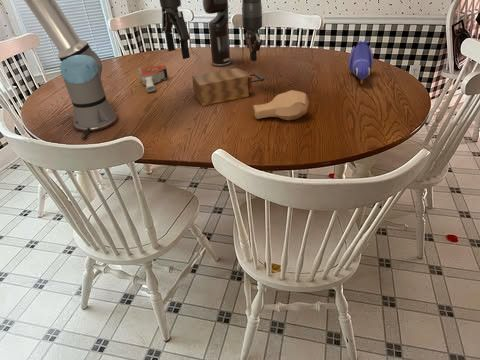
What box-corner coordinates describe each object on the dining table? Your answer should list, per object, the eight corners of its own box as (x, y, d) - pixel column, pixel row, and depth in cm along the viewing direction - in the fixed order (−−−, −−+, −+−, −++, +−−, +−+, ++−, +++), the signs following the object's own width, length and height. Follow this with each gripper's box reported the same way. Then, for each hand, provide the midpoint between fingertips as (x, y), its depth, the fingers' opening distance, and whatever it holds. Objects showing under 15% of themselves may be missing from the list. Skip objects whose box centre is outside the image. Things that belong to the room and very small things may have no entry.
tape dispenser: (151, 97, 154) (180, 78, 166) (148, 85, 150) (178, 68, 163) (122, 88, 161) (152, 71, 174) (119, 77, 158) (150, 61, 170)
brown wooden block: (238, 87, 154) (237, 67, 149) (248, 96, 146) (248, 75, 141) (194, 96, 149) (191, 76, 144) (202, 105, 140) (199, 85, 135)
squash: (312, 121, 125) (311, 99, 119) (256, 131, 127) (252, 110, 121) (306, 103, 133) (305, 82, 126) (254, 113, 134) (250, 93, 128)
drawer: (255, 82, 155) (255, 67, 151) (265, 89, 148) (264, 74, 144) (202, 92, 149) (200, 77, 145) (209, 101, 141) (207, 85, 137)
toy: (346, 78, 167) (350, 87, 144) (349, 39, 160) (352, 43, 138) (368, 77, 164) (375, 86, 142) (372, 38, 158) (379, 42, 135)
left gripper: (194, -3, 121) (201, 59, 134) (165, -10, 139) (174, 45, 151) (174, 0, 118) (183, 64, 131) (147, -8, 136) (158, 49, 148)
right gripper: (268, 16, 130) (268, 63, 140) (254, 10, 140) (255, 54, 150) (249, 19, 128) (251, 66, 138) (236, 12, 138) (238, 57, 148)
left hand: (178, 54), depth 141 cm, fingers open, 13 cm apart
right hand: (253, 60), depth 144 cm, fingers closed
